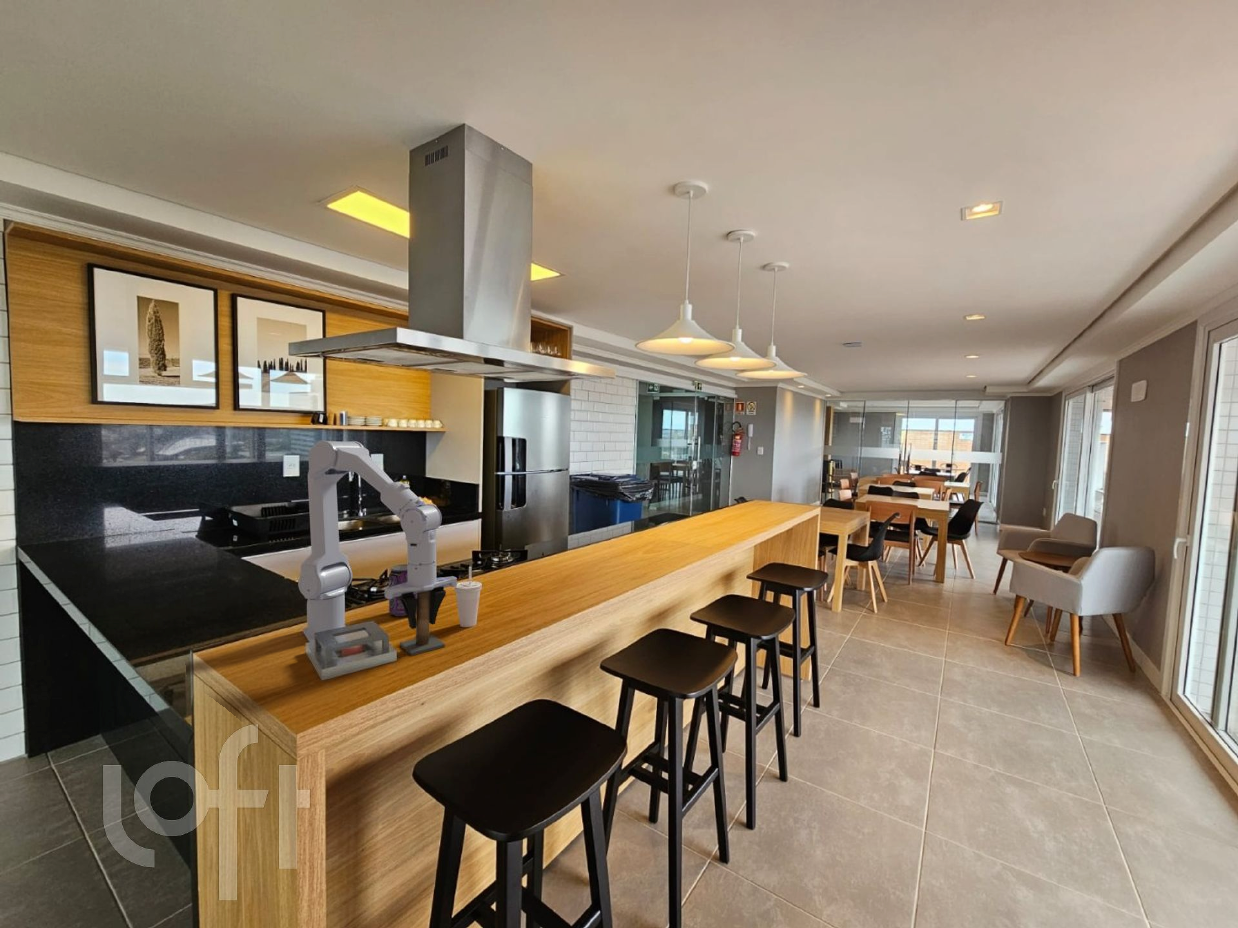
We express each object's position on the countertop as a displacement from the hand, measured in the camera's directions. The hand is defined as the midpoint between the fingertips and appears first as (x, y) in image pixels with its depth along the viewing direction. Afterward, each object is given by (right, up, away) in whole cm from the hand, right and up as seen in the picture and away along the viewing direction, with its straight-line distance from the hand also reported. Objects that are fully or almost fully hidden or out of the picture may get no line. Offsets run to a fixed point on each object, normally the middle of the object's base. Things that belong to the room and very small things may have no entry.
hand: (422, 625), depth 106 cm
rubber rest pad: (0, -5, 0) cm, 4 cm away
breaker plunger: (-11, -4, -7) cm, 14 cm away
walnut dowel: (0, -4, 0) cm, 4 cm away
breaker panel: (-12, -5, -5) cm, 14 cm away
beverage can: (-13, -4, +21) cm, 25 cm away
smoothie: (+6, -4, +13) cm, 15 cm away
